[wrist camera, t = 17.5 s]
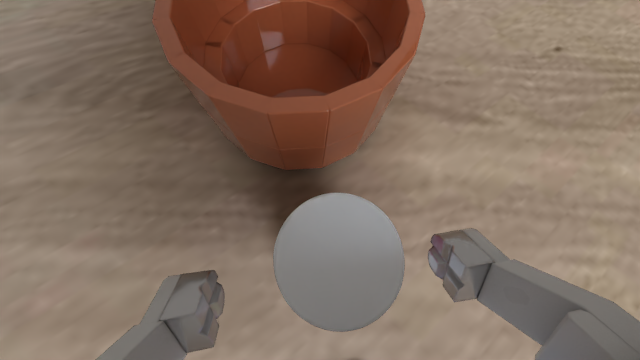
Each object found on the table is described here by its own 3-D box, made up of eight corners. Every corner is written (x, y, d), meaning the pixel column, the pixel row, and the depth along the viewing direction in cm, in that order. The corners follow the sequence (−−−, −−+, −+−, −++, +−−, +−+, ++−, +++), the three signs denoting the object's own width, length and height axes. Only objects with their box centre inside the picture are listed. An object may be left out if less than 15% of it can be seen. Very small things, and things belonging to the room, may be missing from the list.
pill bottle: (375, 250, 15) (450, 253, 7) (326, 310, 14) (348, 397, 6) (322, 201, 16) (334, 152, 8) (272, 254, 15) (224, 262, 7)
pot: (187, 141, 17) (95, 60, 10) (256, 17, 20) (225, -108, 13) (355, 195, 16) (391, 152, 9) (394, 57, 20) (442, -52, 12)
